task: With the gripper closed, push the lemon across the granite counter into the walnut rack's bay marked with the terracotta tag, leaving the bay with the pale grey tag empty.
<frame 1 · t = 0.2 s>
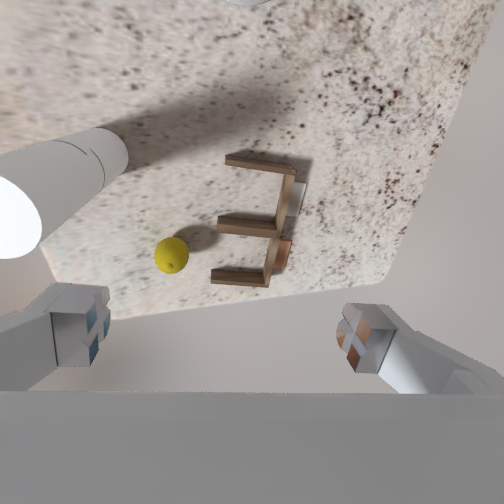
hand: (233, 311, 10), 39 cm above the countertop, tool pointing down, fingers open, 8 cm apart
bay rack: (245, 223, 51), on the countertop
lemon: (175, 243, 51), on the countertop
cylindrical container: (103, 153, 43), on the countertop
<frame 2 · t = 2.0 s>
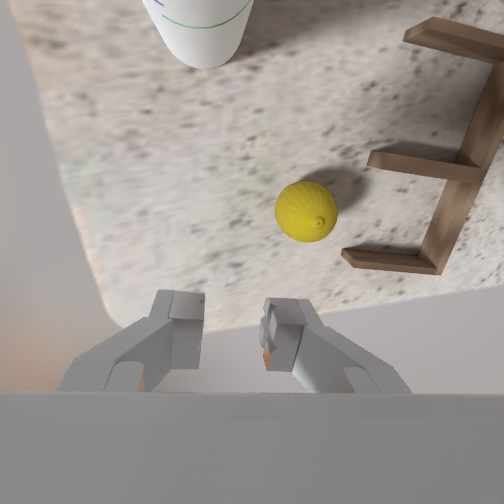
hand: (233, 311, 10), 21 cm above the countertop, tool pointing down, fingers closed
bay rack: (411, 165, 31), on the countertop
lemon: (293, 201, 31), on the countertop
cylindrical container: (201, 19, 24), on the countertop
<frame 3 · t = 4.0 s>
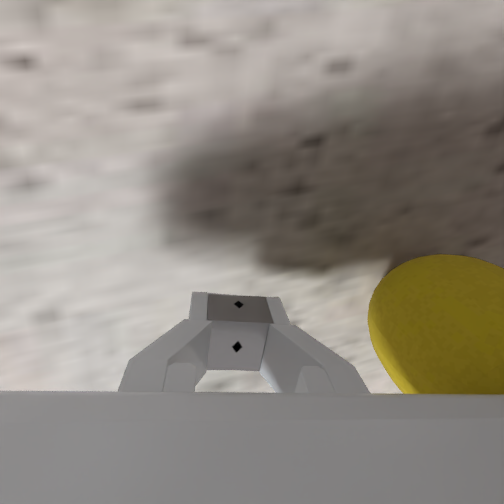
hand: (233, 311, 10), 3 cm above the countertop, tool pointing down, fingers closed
lemon: (391, 279, 14), on the countertop
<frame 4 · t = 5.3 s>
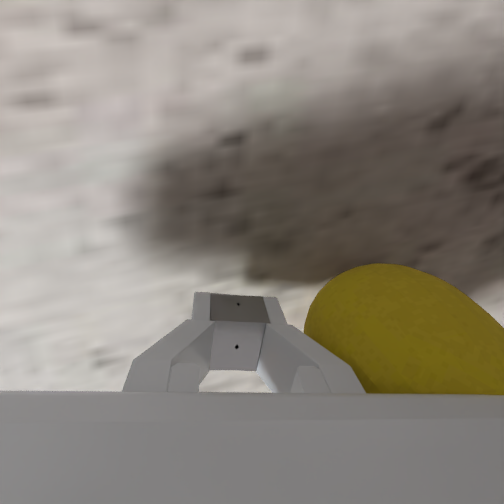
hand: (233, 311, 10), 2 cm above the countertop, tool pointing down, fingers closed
lemon: (339, 288, 13), on the countertop, touching gripper
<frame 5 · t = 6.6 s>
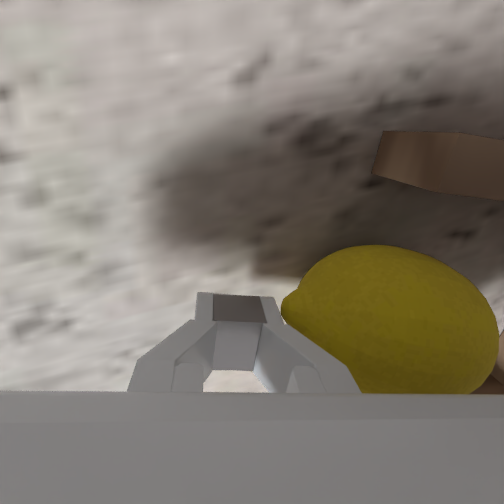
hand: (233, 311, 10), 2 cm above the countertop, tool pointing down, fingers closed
bay rack: (490, 170, 11), on the countertop
lemon: (276, 306, 9), point 3 cm above the countertop, touching gripper
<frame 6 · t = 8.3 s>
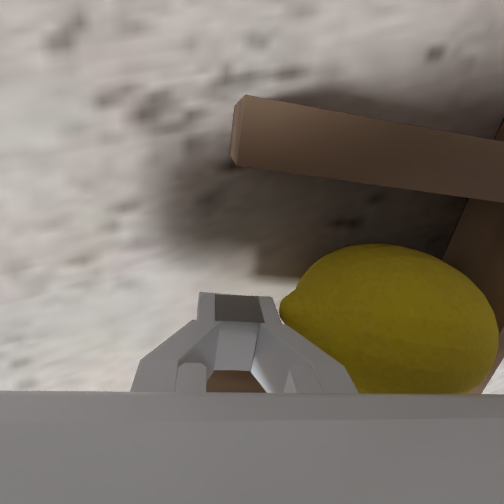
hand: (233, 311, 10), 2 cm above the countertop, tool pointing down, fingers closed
bay rack: (366, 151, 10), on the countertop
lemon: (274, 307, 9), point 3 cm above the countertop, touching bay rack, gripper
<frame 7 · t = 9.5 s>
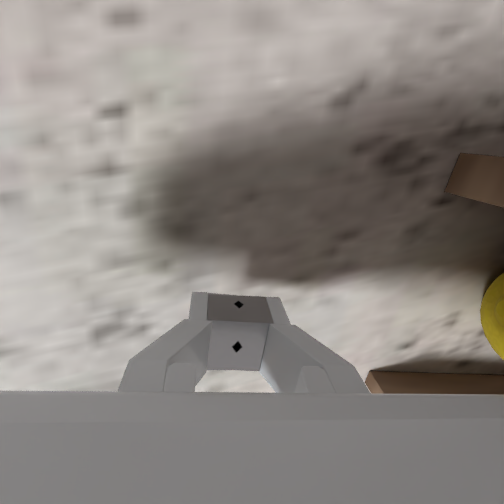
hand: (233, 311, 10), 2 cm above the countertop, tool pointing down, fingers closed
lemon: (499, 307, 11), point 3 cm above the countertop
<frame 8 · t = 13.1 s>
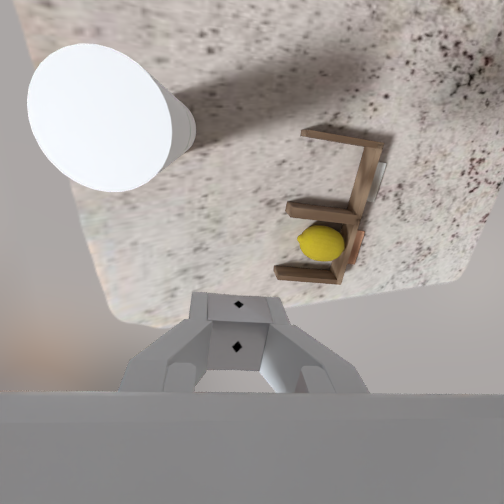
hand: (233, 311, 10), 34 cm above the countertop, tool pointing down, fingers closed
bay rack: (316, 210, 45), on the countertop
lemon: (296, 237, 43), point 3 cm above the countertop
cylindrical container: (169, 127, 38), on the countertop
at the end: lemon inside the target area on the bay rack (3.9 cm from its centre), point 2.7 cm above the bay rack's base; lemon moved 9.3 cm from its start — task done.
